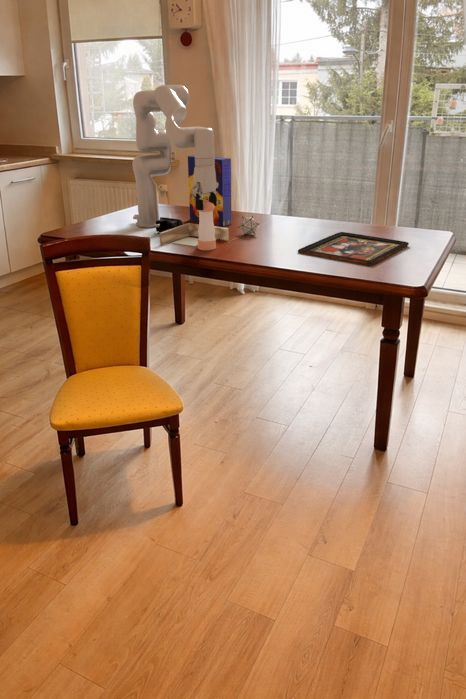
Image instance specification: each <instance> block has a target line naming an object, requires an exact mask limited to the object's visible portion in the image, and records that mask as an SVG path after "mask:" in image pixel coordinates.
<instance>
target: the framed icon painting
mask: <svg viewBox="0 0 466 699" xmlns="http://www.w3.org/2000/svg"><path fill="white" fill-rule="evenodd" d="M409 244H410V243H409V242H408V241H403V240H397V239H390V238H384V237H379V236H377V237H376V236H370V235H364V234H358V233H353V232H352V233H351V232H345V231H339V232H336V233H333V234H332V235H328V236H327V237H324V238H321V239H320V240H318V241H315V242H313V243H310V244H308V245H305V246H303V247H301V248H298V250H297V254H301V255H305V256H312V257H317V258H323V259H329V260H333V261H338V262H344V263H350V264H354V265H361V266H366V267H372V266H374V265H376V264H378V263H380V262H381V261H383V260H385V259H387V258H389V257H391V256H393V255H394V254H396V253H398V252H400V251H402V250H404V249H406V248H407V247H408V246H409ZM405 247H406V248H405ZM403 248H404V249H403ZM399 250H400V251H399Z"/></svg>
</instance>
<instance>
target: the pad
mask: <svg viewBox="0 0 466 699" xmlns="http://www.w3.org/2000/svg"><path fill="white" fill-rule="evenodd" d="M198 239H199V237H197V238H196V237H191V236H186V237H184V238H181V239H178V240H176V241H173V242H172V244H174V245H180V246H181V245H182V246H188V247H198Z"/></svg>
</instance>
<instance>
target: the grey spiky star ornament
mask: <svg viewBox="0 0 466 699" xmlns="http://www.w3.org/2000/svg"><path fill="white" fill-rule="evenodd" d="M241 218H242V219H241V222H240V225H239V226H238V227H237V228H238V229H240V230H241V231H242V233H244V234H243V236H246V235H251V234H254V236H255V235H257V234H256V230H257V227H258V225H260V223H258V222H257V221H256V220H255V218H254V215H251V216H250V217H249V216H248V217H244V216H241Z"/></svg>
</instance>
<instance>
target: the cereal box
mask: <svg viewBox="0 0 466 699" xmlns="http://www.w3.org/2000/svg"><path fill="white" fill-rule="evenodd" d="M214 158H215V173H216V182H218V183H219V185H218V191H217V196H216V197H217V206H215V208H214V210H213V224H214V226H217V227H226V226H230V225H232V221H233V220H232V217H233V216H232V159H231V157H229V158H228V157H221V156H219V157H218V156H214ZM194 168H195V154H192V155H191V154H190V155H188V156H187V169H188V170H187V171H188V172H187V174H188V176H187V177H188V178H187V179H188V201H189V221H193V222H198V221H199V211H198V210H196V201H195V199H194V196H193V192H192V189H193V180H194ZM199 195H200V194H199ZM209 195H210V194H209V193H207V194H204V195H203V198H202V200H203V202H204V200H207V201H208V202H209Z"/></svg>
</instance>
